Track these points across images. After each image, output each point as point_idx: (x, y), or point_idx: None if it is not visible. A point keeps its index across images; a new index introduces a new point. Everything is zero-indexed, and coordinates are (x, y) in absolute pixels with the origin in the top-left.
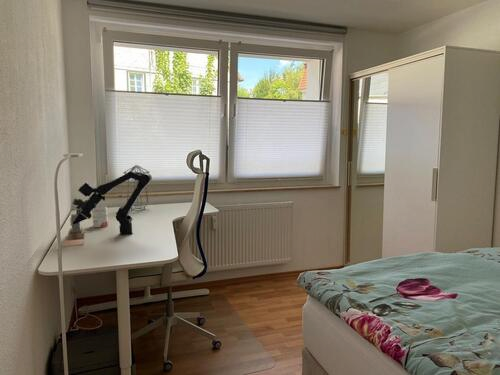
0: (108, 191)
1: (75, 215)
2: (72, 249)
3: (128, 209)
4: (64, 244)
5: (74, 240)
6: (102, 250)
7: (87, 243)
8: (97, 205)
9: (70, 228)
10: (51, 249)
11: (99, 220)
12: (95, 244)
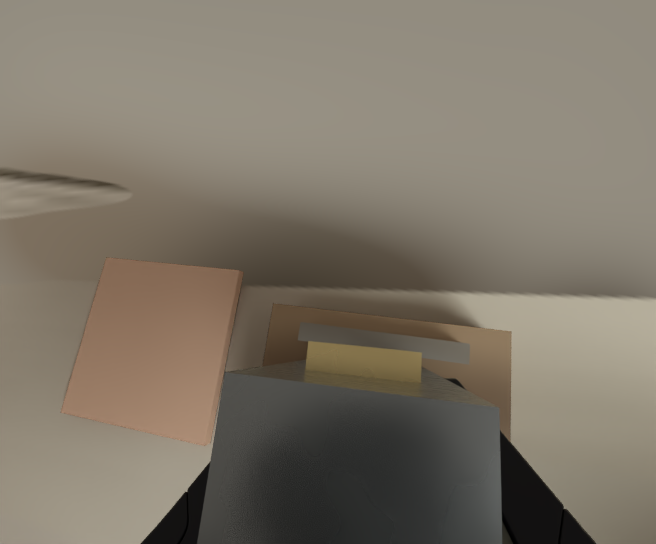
0: None
1: (202, 528)
2: (19, 324)
3: None
4: (134, 275)
5: (205, 358)
6: None
7: (91, 454)
8: None
9: (460, 346)
10: (106, 198)
11: None
12: (23, 513)
